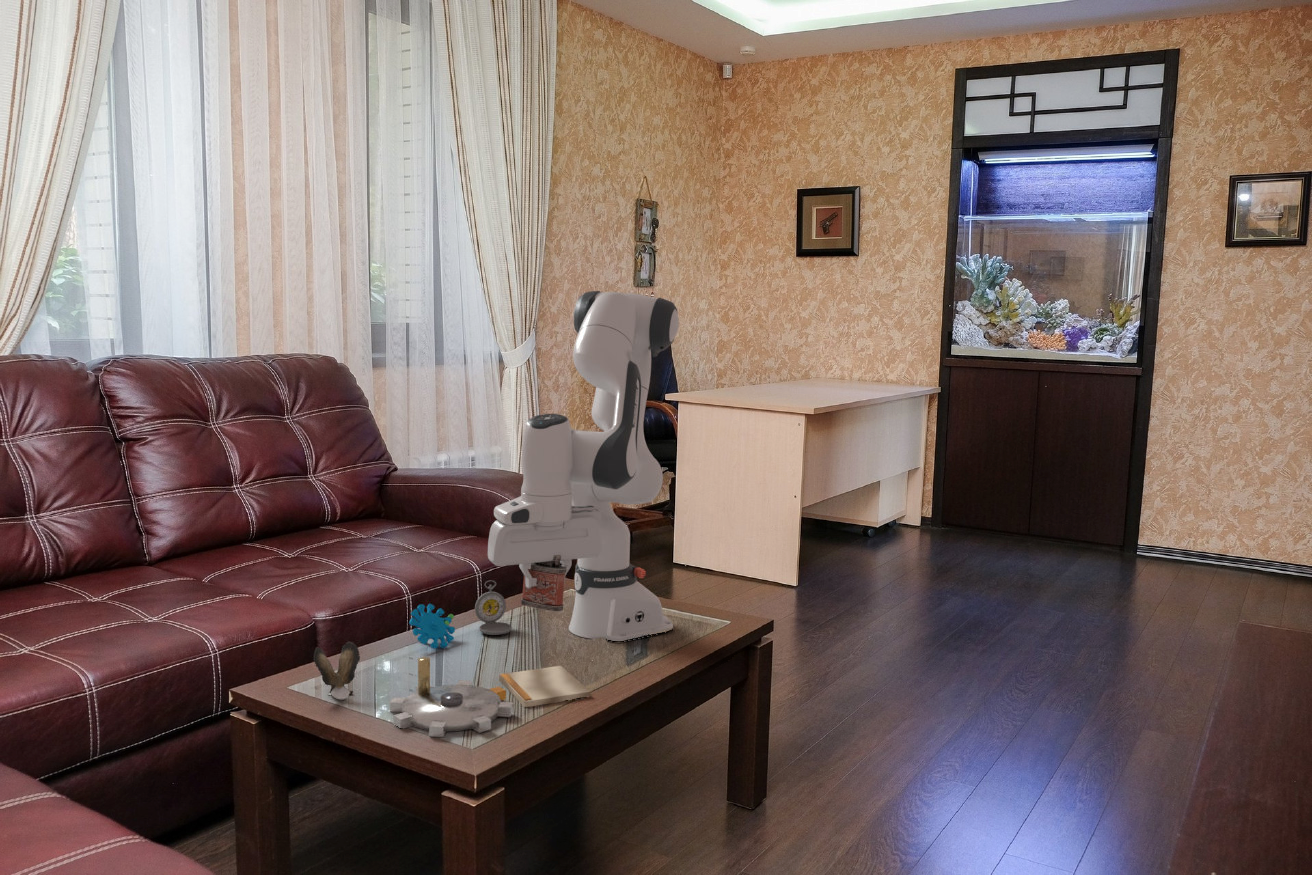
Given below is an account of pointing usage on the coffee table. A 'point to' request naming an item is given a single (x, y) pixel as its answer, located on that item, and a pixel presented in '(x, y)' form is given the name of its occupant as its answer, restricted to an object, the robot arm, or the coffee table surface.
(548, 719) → the coffee table surface
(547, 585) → the lighter
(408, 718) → the sprocket
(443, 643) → the gear
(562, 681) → the pad
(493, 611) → the pocket watch
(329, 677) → the eagle figurine
